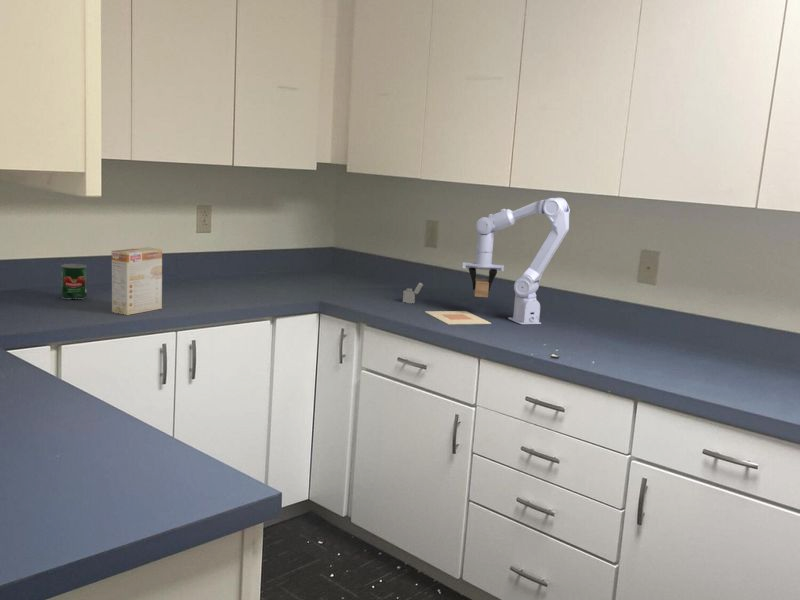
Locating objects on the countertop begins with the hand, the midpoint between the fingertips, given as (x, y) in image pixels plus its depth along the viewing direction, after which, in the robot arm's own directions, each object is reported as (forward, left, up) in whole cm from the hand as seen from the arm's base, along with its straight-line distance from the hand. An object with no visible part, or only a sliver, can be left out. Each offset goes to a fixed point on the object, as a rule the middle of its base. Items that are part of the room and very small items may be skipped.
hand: (481, 289), depth 283 cm
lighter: (+22, +17, -9) cm, 29 cm away
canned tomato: (+34, +134, -9) cm, 138 cm away
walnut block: (0, 0, -2) cm, 2 cm away
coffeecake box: (+12, +115, -9) cm, 116 cm away
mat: (-5, +11, -9) cm, 15 cm away
